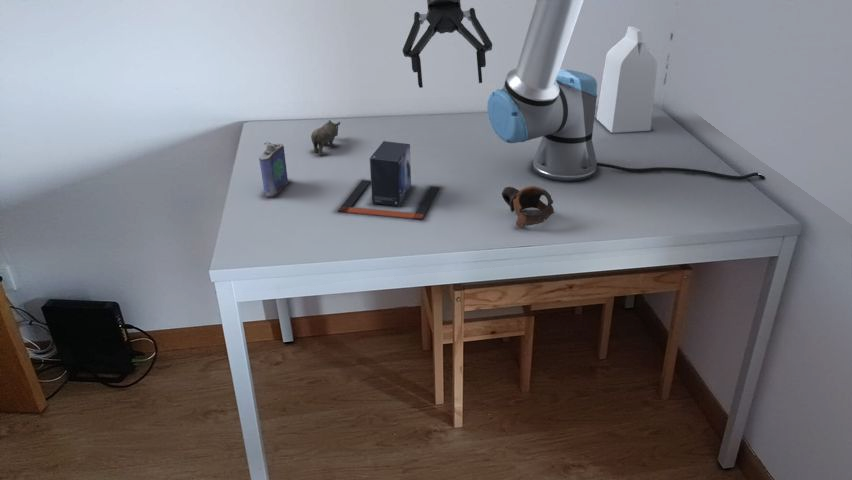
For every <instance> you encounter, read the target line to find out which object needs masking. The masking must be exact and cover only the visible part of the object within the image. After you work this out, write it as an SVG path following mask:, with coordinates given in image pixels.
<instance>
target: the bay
mask: <svg viewBox="0 0 852 480" xmlns="http://www.w3.org/2000/svg"><path fill="white" fill-rule="evenodd" d="M370 184H371V180H367V179H366V180H365V179H362V180H361V181H360V182H359V184H358V185H357V186H356V187H355V188H354V189H353V190H352V192H351V193H350V195H349V196H348V198H346V200H345V201H344V202H343V204H342V205H341V206H340V207H339V209H338V210H337V212H338V213H345V214H347V213H348V214H355V215H356V214H358V215H359V214H360V215H368V216H379V217H389V218H399V219H409V220H420V221H423V219H424V218H425V215H426V213H427V212H428V210H429V208H430V207H431V205H432V203H433V201H434V199H435V197H436V196H437V194H438V192H439V190H440V186H434V185H432V186H431V185H430V187H429V189H428V190H427V192H426V193H425V196H424V197H423V198H422V201H421V203H420V204H419V206H418V208H417V210H416V211H415V213H414V212H402V211H393V210H382V209H372V208H370V209H369V208H363V207H361V208H360V207H353V206H354V204H355V203H356V202H357V200H359V198H360V197H361V195H363V193H364V191H366V189H367V188H368V187H369V185H370Z"/></svg>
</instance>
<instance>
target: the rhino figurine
mask: <svg viewBox="0 0 852 480" xmlns="http://www.w3.org/2000/svg"><path fill="white" fill-rule="evenodd" d="M339 125H341V121H338V122H336V123H335V122H333V121H332V120H331V119H329V120H328V121H327V122H326V123H324V124H323V125H322V126H321V127H319V128H316V129H314V130H313V131H312V132H311V134H310V135H311V136H310V139H311V143H312V144H313V153H317V156H325V152H323V149H324V146H329V147H330V148H335V147H336V145H335V144H334V140H335V138H336V137H337V136H339Z"/></svg>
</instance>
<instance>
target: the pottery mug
mask: <svg viewBox="0 0 852 480" xmlns="http://www.w3.org/2000/svg"><path fill="white" fill-rule="evenodd" d="M542 196H544V197H545V198H546V200H547V204H546V203H544V202H543V201H542V200H541V197H542ZM501 197H502V199H503V200H504V202H505V203H506V205H507V206H509V209H510V212H511V213H514V212H515V214H516V215H517V219H516V221H515V224H516V226H517V227H519V228H520V229H523V228H525V226H526V227H528V226H533V225H534V226H535V225H539V224H542V223H544V222H545V221H547V220H548V219H549V218H550V217H551V216H552V215H553V214H555V213H556V212H555V209H554V207H553V205H552V204H554V200H553V199H552V195H551V194H550V193H549V192H548V191H547V190H546V189H544V188H543V187H540V186H536V185H534V186H533V185H530V186H525V187H523V188H521V189H517V188H515V187H513V186H506V187H504V188H503V190H502V191H501ZM532 208H533V209H537V210H539V211H536V212H534V211H533V212H532V211H529V210H526V209H532ZM524 210H526V211H525V213H523V211H524Z"/></svg>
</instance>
